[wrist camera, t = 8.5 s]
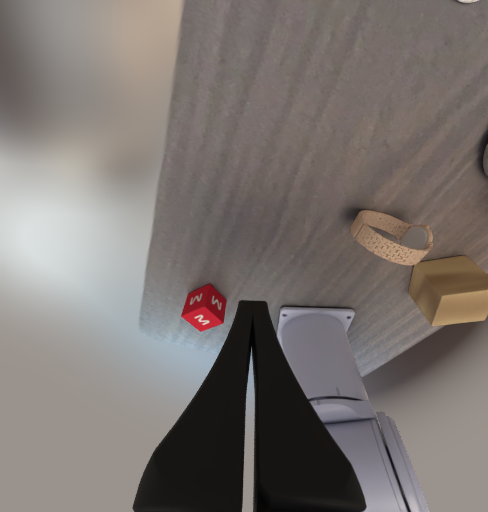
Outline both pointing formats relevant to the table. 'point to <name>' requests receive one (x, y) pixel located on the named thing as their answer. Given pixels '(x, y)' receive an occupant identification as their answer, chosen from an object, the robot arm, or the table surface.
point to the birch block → (450, 290)
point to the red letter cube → (204, 308)
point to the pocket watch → (485, 160)
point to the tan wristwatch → (412, 239)
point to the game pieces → (467, 1)
